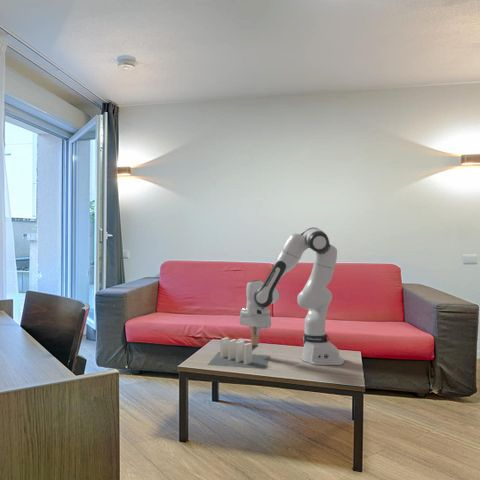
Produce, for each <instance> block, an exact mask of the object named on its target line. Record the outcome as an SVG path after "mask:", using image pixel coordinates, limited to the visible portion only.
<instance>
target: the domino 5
mask: <svg viewBox="0 0 480 480" xmlns="http://www.w3.org/2000/svg"><path fill="white" fill-rule="evenodd" d="M256 331H257V329H256V327H253V326H251V331H250V339H251V343H252V345H254V346H256V345H259V344H260V334H259V335H255V332H256Z"/></svg>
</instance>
